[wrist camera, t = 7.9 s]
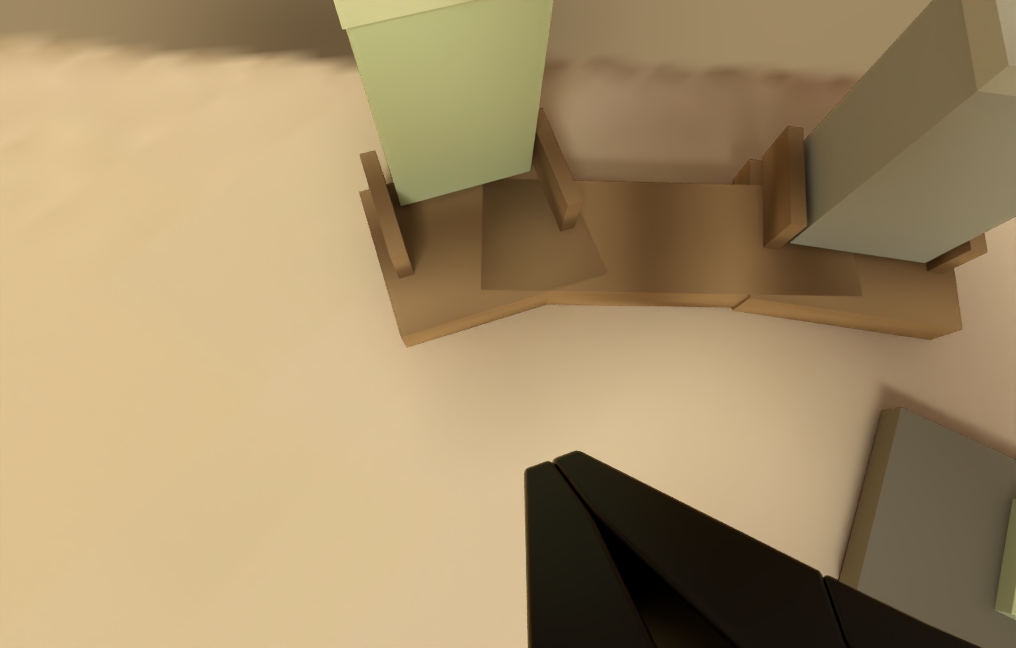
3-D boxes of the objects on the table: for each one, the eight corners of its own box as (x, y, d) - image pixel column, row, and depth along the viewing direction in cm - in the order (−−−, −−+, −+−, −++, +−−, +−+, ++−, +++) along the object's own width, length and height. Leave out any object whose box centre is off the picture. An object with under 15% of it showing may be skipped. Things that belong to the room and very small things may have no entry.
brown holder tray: (902, 163, 24) (969, 111, 21) (955, 341, 22) (1041, 314, 18) (370, 161, 23) (350, 105, 20) (357, 348, 20) (332, 320, 17)
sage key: (533, 172, 21) (566, -50, 12) (399, 208, 20) (333, -1, 12) (500, 93, 22) (509, -162, 14) (373, 125, 22) (294, -123, 13)
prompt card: (1136, 528, 19) (1191, 532, 18) (1119, 726, 17) (1179, 748, 16) (882, 410, 21) (913, 404, 19) (837, 584, 18) (869, 593, 17)
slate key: (927, 265, 21) (1254, 100, 12) (786, 245, 21) (1008, 65, 12) (917, 176, 22) (1204, -32, 13) (784, 157, 22) (982, -63, 13)
